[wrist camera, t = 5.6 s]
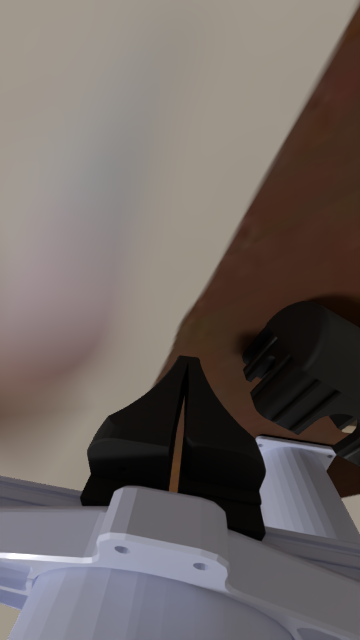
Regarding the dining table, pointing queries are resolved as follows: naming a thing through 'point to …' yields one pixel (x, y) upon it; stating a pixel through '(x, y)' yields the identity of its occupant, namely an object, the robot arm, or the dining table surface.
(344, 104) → the dining table surface
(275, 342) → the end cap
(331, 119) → the dining table surface
